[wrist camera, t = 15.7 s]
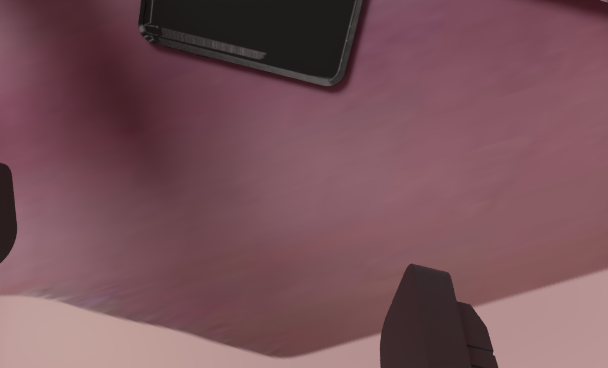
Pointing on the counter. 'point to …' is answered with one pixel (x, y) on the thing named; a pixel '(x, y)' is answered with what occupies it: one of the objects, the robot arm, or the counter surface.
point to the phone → (259, 33)
